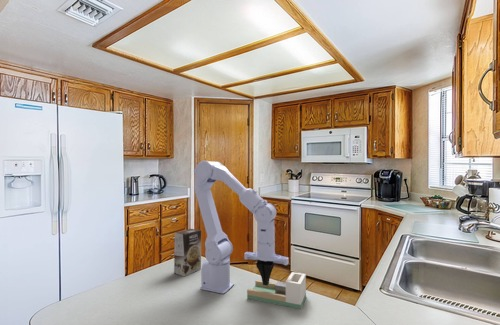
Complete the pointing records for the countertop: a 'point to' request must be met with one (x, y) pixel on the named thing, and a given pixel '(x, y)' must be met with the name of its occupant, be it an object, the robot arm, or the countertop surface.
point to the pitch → (291, 299)
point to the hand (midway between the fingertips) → (266, 284)
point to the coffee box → (187, 252)
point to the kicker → (280, 288)
